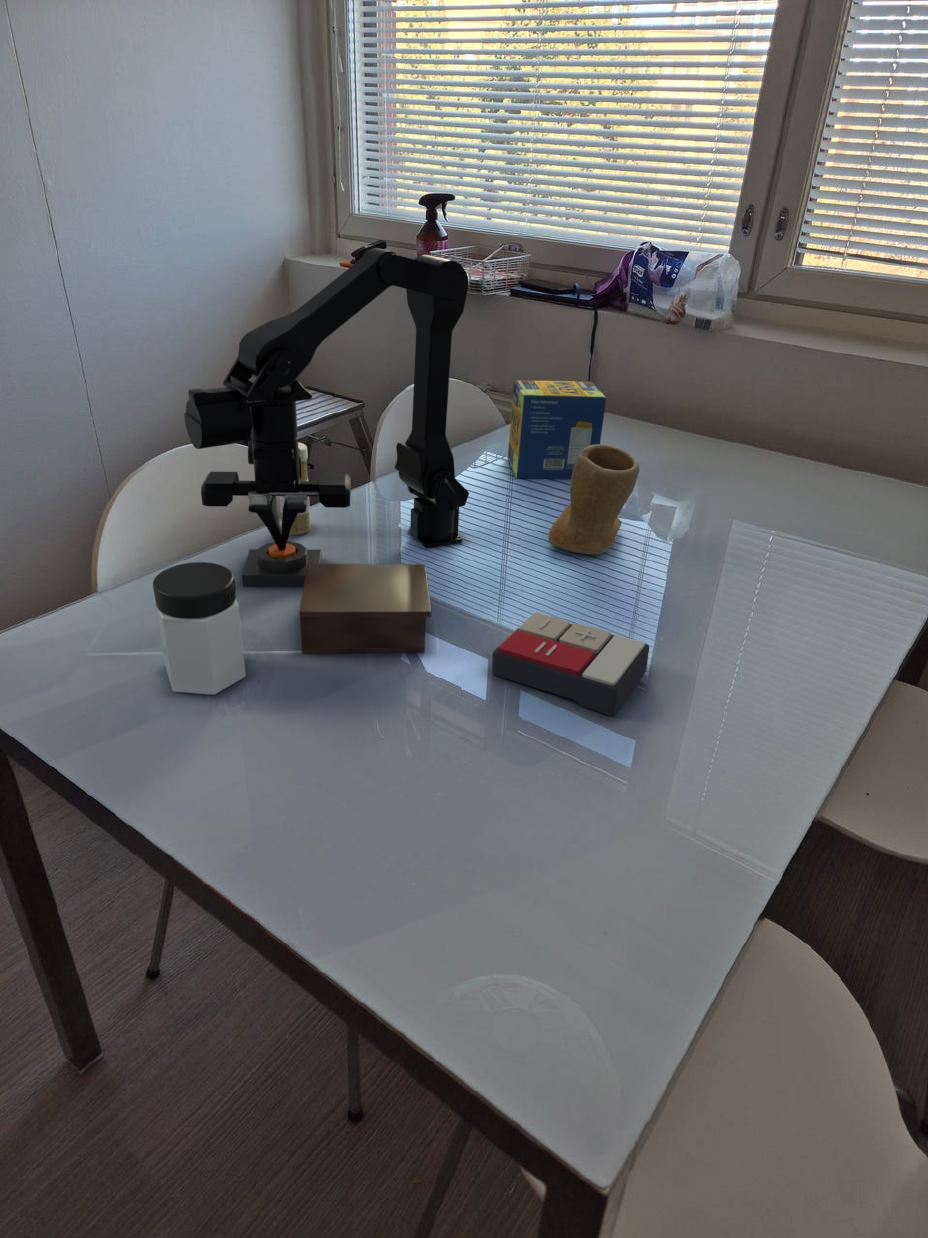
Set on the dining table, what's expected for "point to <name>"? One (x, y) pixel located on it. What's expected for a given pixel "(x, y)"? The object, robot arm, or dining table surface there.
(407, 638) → the wooden box
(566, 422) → the protein box
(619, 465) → the stone cup
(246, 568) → the control block
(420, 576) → the lid
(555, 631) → the calculator
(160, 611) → the jar
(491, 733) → the dining table surface
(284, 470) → the robot arm
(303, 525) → the sprinkles bottle
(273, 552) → the button
